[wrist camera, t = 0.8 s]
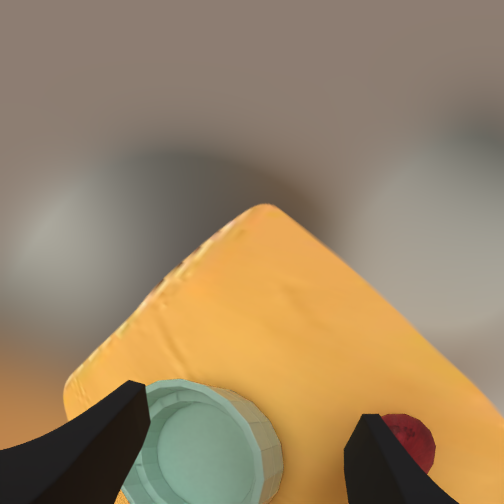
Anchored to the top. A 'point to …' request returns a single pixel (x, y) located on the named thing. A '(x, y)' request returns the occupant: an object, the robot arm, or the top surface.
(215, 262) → the top surface
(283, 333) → the top surface
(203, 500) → the bowl
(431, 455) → the onion
